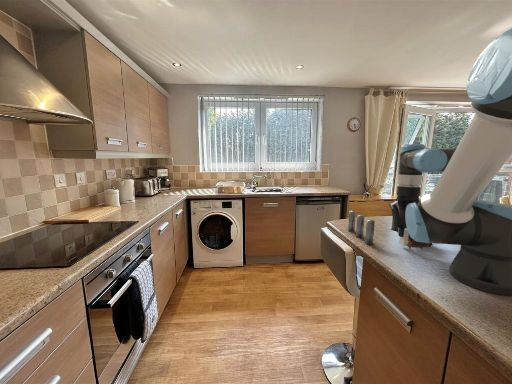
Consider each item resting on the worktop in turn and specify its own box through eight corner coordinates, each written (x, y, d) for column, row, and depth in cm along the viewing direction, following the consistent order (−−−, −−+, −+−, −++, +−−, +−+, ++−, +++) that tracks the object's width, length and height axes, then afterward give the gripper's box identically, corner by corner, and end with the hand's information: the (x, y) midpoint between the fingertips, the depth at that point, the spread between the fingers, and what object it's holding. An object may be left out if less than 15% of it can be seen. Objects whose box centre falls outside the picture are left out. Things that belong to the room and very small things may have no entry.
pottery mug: (440, 250, 86) (440, 236, 82) (420, 262, 85) (419, 248, 81) (412, 233, 97) (411, 219, 93) (394, 243, 96) (392, 230, 92)
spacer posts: (426, 243, 92) (428, 220, 90) (367, 245, 91) (369, 221, 89) (395, 228, 110) (397, 209, 109) (346, 230, 110) (347, 210, 108)
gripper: (418, 184, 88) (412, 240, 92) (386, 184, 87) (381, 241, 91) (433, 186, 80) (426, 247, 84) (399, 187, 80) (393, 248, 84)
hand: (403, 244), depth 88 cm, fingers closed
